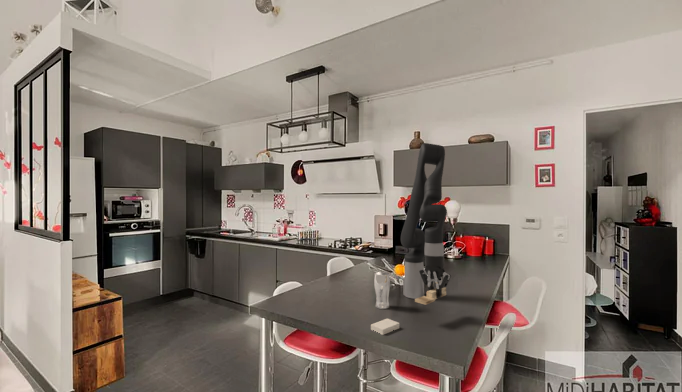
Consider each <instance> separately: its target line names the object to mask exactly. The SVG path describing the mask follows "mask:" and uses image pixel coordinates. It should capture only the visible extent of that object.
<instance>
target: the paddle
mask: <svg viewBox="0 0 682 392" xmlns="http://www.w3.org/2000/svg"><path fill="white" fill-rule="evenodd" d="M436 289H437V288H436V287H435V288H434V289H432V290H429V291H428V290H427V291H426V295H424V296H422V297H419V298H417V299H414V303H418V304H422V305H429V304H432V303H435V302H436V300H437V299H439V298H436ZM445 296H447V287H444V288H442V296H441V297H440V298H443V297H445Z"/></svg>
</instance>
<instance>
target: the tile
mask: <svg viewBox="0 0 682 392" xmlns="http://www.w3.org/2000/svg"><path fill="white" fill-rule="evenodd" d="M398 329H400V322H398V321H395V320H392V319H391V318H384V319H382V320H380V321H377V322H374V323H372V324H370V330H371V331H373V330H374V331H373V332H375V331H376V332H375V333H377V332H378V334H379V333H380V334H379V335H382V336H384V335H386V334H389V333H391V332H394V331H396V330H398ZM393 330H394V331H393Z"/></svg>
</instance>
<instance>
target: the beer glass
mask: <svg viewBox="0 0 682 392" xmlns="http://www.w3.org/2000/svg"><path fill="white" fill-rule="evenodd" d="M390 279H391V277H390V272H387V271H375V272H374V279H373V282H374V284H373V286H374V292H375V298H376V300H375V301H376V302H375V308H376V309H379V310H388V309H389V308H390V303H389V295H390V289H391V288H390V287H391V281H390Z"/></svg>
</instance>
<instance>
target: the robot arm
mask: <svg viewBox="0 0 682 392" xmlns="http://www.w3.org/2000/svg"><path fill="white" fill-rule="evenodd" d="M445 157H446V149H445V147H444V146H443V145H440V144H434V143H427V142H423V143H422V144H421V145H420V149H419V152H418V157H417V164H416V170H415V171H416V172H415V177H414V182H413V186H412V190H411V194H410V199H409V203H408V204H409V205H408V209H407V212H406V217H405V221H404V223H403V226H402V230H401V234H400V243H401V245H402V247H404V248H405V249H410V250H409V251H408V252H407V253H406V254H405V255H404V256H403V257H404V275H403V277H402V291H403V292H402V294H403V296H405V297H406V298H408V299H413V300H415V299H417V298H419V297H422V296H425V285H426V286H427V287H428V288H427V291H429V290H432V289H435V288H437V289H436V298H438V299H440V298H442V297H441V296H442V288H447V287H448V285H449V282H450V279H451V277H452V275H451V274H450V273H447V272H446V270H445V248H444V247H445V246H444V227H445V222H446V218H447V215H448V209H447V207H446V206H445V205H444V204H442V203H440V202H441V200H442V196H443V193H442V190H443V189H442V184H443V183H442V180H443V174H444V166H445V160H446V158H445ZM426 164H427V165H433V166H435V168H434V170H433V171H432V172H431V174H430V175H429V176H428V177H427V175H426V171H425V165H426ZM439 203H440V204H439ZM420 220H421V221H422V222H425V223H428V222H429V223H430V222H431V223H435V222H437V224H436V225H434V226H431V227H426V228H425V229H424V231H423V229H421V228H417V226H418V223H419V221H420ZM424 265H425V267H424ZM434 283H435V286H436V287H435V286H434ZM434 287H435V288H434Z"/></svg>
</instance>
